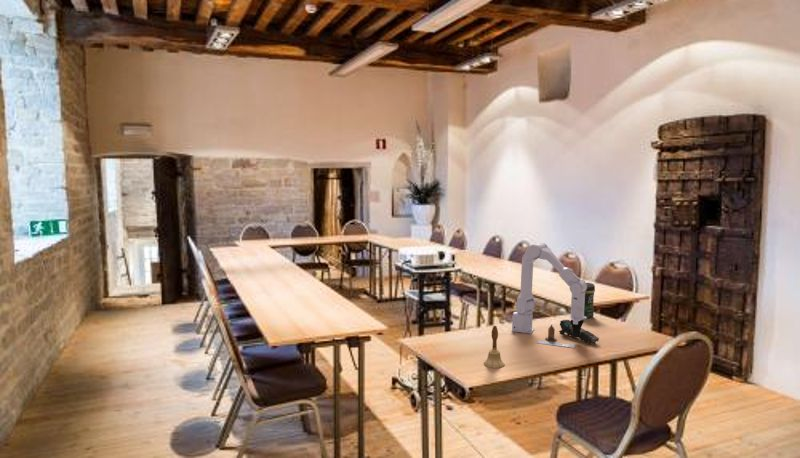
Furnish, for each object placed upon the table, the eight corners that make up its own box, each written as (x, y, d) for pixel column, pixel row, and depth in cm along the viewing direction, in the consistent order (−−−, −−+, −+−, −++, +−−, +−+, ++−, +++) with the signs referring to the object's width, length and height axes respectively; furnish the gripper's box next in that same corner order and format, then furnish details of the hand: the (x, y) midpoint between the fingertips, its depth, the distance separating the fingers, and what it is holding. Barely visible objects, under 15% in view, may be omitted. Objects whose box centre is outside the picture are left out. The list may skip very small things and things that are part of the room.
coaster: (544, 340, 243) (544, 339, 243) (546, 337, 248) (546, 336, 248) (555, 342, 241) (555, 341, 241) (557, 338, 246) (557, 338, 246)
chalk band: (537, 343, 239) (537, 342, 239) (538, 340, 243) (538, 340, 243) (573, 348, 233) (573, 347, 233) (574, 345, 236) (574, 345, 236)
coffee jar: (585, 319, 279) (586, 285, 277) (572, 316, 285) (574, 282, 284) (596, 317, 284) (597, 283, 283) (583, 313, 291) (585, 280, 289)
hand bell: (507, 368, 208) (508, 328, 207) (486, 368, 208) (487, 328, 206) (501, 360, 216) (502, 322, 215) (481, 361, 216) (482, 323, 214)
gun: (562, 331, 257) (568, 314, 253) (593, 356, 242) (600, 338, 238) (556, 332, 255) (562, 315, 251) (586, 357, 239) (593, 339, 236)
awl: (547, 339, 244) (548, 325, 243) (548, 337, 246) (549, 323, 246) (553, 340, 243) (554, 325, 242) (554, 338, 245) (555, 324, 244)
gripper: (585, 311, 231) (584, 341, 233) (588, 304, 244) (587, 332, 246) (568, 309, 234) (567, 339, 236) (572, 302, 247) (571, 330, 249)
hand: (576, 335), depth 241 cm, fingers closed
